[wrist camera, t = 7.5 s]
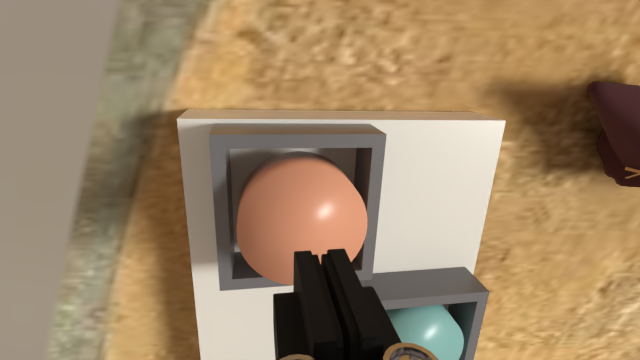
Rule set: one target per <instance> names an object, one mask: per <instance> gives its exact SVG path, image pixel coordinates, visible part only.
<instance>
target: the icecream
mask: <svg viewBox="0 0 640 360" xmlns="http://www.w3.org/2000/svg"><path fill="white" fill-rule="evenodd" d="M587 91H588V94H589V97H590V99H591V101H592V103H593V105H594V107H595V110H596V112H597V114H598V117H599V119H600V121H601V124H602V126H603V129H604V130H603V132H602V133H601V135H600V137H599V139H598V141H597V149H598V151H599V154H600V156H601V158H602V161H603V163H604V171H605V174H606V175H608V176H609V177H612V178H614V179H615V181H616V183H617V184H619V185H620V186H628V187H640V86H636V85H627V84H618V83H609V82H592V83H590V84H589V85H588V86H587Z"/></svg>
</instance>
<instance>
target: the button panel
mask: <svg viewBox="0 0 640 360" xmlns="http://www.w3.org/2000/svg"><path fill="white" fill-rule="evenodd" d="M505 122H506V120H502V119H498V118H495V117H491V116H487V115H484V114H480V113H476V112H436V111H337V110H237V109H187V110H186V111H185V112H184V113H183V114H182V115H181V116H179V117H178V118H177V127H178V137H179V147H180V157H181V167H182V177H183V187H184V197H185V207H186V217H187V227H188V237H189V247H190V257H191V267H192V277H193V287H194V297H195V307H196V317H197V327H198V337H199V347H200V357H201V360H275V345H274V326H273V294H276V293H289V292H293V285H285V284H281V283H277V282H274V281H271V280H269V279H267V278H265V277H263V276H262V275H260V274H259V273H257V272H256V271H255V270H254V269H253V268H252V267H251V266H250V265H249V264H248V263H247V262H246V260H245V258H244V257H243V255H242V253H241V251H240V249H239V245H238V242H237V235H236V226H237V216H238V206H239V199H240V194H241V191H242V188H243V186H244V184H245V182H246V180H247V179H248V177H249V176H250V174H251V173H252V172H253V171H254V170H255V169H256V168H257V167H258V166H259V165H260V164H262V163H263V162H265V161H266V160H268V159H270V158H272V157H274V156H276V155H279V154H282V153H287V152H294V151H304V152H311V153H315V154H319V155H321V156H324V157H326V158H328V159H329V160H331V161H332V162H334V163H335V164H336V165H337V166H338V167H340V169H341V170H342V171H343V172H344V173H345V175H346V176H347V177H348V179H349V180H350V182H351V183H352V184H353V186H354V187H355V188H356V190H357V191H358V193H359V194H360V196H361V197H362V200H363V202H364V204H365V208H366V211H367V219H368V220H367V232H366V236H365V240H364V243H363V245H362V247H361V249H360V251H359V252H358V254H357V255H356V257H355V258H354V259H353V261H352V262H351V263H352V265H353V268H354V270H355V272H356V274H357V276H358V278H359V280H360V283H361V285H362V287H364V286H372V287H373V288H374V289H375V291H376V293H377V295H378V297H379V299H380V301H381V303H382V305H383V307H384V309H385V310H388V309H399V308H410V307H421V306H432V305H443V306H444V307H445V308H446V310H447V311H448V312H449V314H450V315H451V316H452V318H453V319H454V320H455V322H456V323H457V324H458V326H459V327H460V329H461V331H462V333H463V338H464V345H463V350H462V354H461V356H460V358H459V360H473V359H474V355H475V351H476V346H477V342H478V338H479V334H480V329H481V325H482V321H483V317H484V312H485V308H486V304H487V299H488V295H489V291H488V290H487V289H486V288H485V287H484V286H483V285H482V284H481V283H480V282H479V281H478V280H477V278H476V277H475V276H474V275H473V273H474V269H475V264H476V259H477V254H478V250H479V245H480V240H481V236H482V231H483V226H484V221H485V217H486V212H487V207H488V202H489V198H490V193H491V188H492V184H493V179H494V174H495V169H496V165H497V160H498V155H499V150H500V146H501V141H502V136H503V132H504V127H505Z"/></svg>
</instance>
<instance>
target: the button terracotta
mask: <svg viewBox="0 0 640 360" xmlns="http://www.w3.org/2000/svg"><path fill="white" fill-rule="evenodd" d="M367 220H368V219H367V211H366V208H365V204H364V202H363V200H362V197H361V196H360V194H359V193H358V191H357V190H356V188H355V187H354V186H353V184H352V183H351V182H350V180H349V179H348V177H347V176H346V175H345V173H344V172H343V171H342V170H341V169H340V167H338V166H337V165H336V164H335V163H334V162H332V161H331V160H329V159H328V158H326V157H324V156H321V155H319V154H315V153H311V152H304V151H294V152H287V153H282V154H279V155H276V156H274V157H272V158H270V159H268V160H266V161H265V162H263V163H262V164H260V165H259V166H258V167H257V168H256V169H255V170H254V171H253V172H252V173H251V174H250V176H249V177H248V179H247V180H246V182H245V184H244V186H243V188H242V191H241V194H240V199H239V206H238V216H237V226H236V235H237V242H238V245H239V249H240V251H241V253H242V255H243V257H244V258H245V260H246V262H247V263H248V264H249V265H250V266H251V267H252V268H253V269H254V270H255V271H256V272H257V273H259V274H260V275H262V276H263V277H265V278H267V279H269V280H271V281H274V282H277V283H281V284H285V285H293V281H294V251H311V252H312V255H316V254H317V255H318V257H319V261H320V264H321V256H322V254H327V250H328V249H343V248H344V249H345V250H346V253H347V255H348V257H349V259H350V261H351V262H352V261H353V259H354V258H355V257H356V255H357V254H358V252H359V251H360V249H361V247H362V245H363V243H364V240H365V236H366V232H367Z"/></svg>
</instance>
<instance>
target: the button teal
mask: <svg viewBox="0 0 640 360" xmlns="http://www.w3.org/2000/svg"><path fill="white" fill-rule="evenodd" d="M385 311H386V312H387V314H388V316H389V318H390V320H391V322H392V324H393V326H394V328H395V330H396V332H397V334H398V336H399V338H400V340H401V342H402V343H405V342H406V343H413V344H417V345H419V346H422V347H424V348H426V349H427V350H429V351H431V352H432V353H433V354H434V355H435V356H436V357H437V358H438V360H459V358H460V356H461V354H462V350H463V345H464V338H463V333H462V331H461V329H460V327H459V326H458V324H457V323H456V322H455V320H454V319H453V318H452V316H451V315H450V314H449V312H448V311H447V310H446V308H445V307H444V306H443V305H432V306H421V307H410V308H399V309H388V310H385Z"/></svg>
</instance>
